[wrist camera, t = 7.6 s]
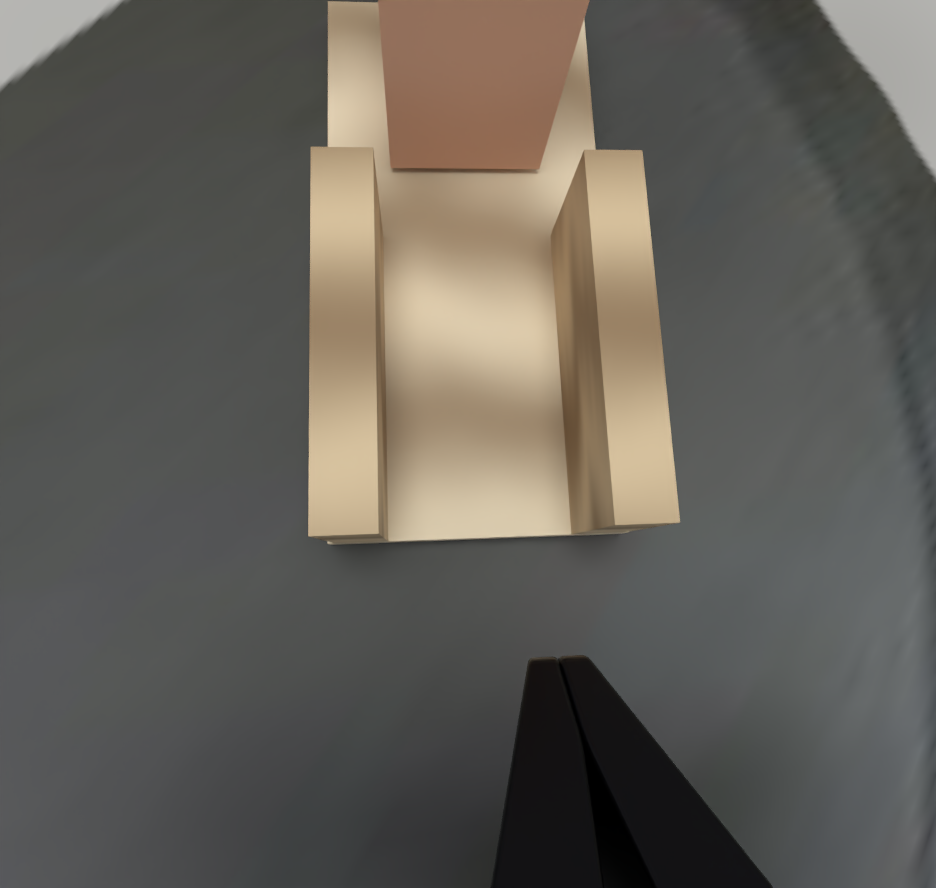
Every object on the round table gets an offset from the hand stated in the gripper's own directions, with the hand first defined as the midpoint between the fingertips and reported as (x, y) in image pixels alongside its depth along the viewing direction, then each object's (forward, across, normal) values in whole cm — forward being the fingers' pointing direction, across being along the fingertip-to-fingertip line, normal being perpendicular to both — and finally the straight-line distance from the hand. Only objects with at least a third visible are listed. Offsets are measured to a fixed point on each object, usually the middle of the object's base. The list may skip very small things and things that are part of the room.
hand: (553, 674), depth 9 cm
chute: (+16, 0, -1) cm, 16 cm away
